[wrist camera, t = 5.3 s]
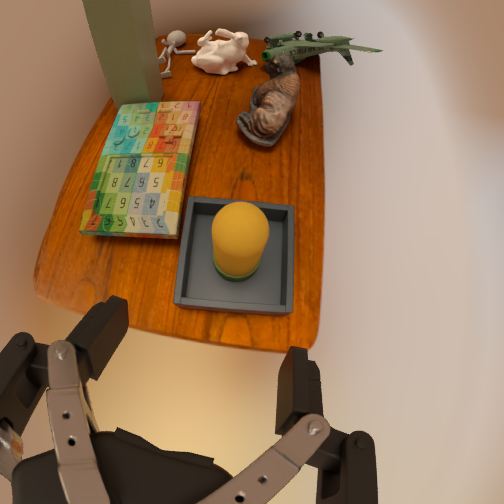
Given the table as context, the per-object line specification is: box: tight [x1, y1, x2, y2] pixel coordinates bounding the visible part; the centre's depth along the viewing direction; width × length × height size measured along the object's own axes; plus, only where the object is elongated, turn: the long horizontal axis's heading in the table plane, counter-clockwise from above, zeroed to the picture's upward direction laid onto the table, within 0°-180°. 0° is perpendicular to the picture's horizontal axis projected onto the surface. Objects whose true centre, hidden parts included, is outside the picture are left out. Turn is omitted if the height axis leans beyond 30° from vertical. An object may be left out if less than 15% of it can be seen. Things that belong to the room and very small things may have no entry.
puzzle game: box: [79, 101, 201, 239], centre depth 31 cm, size 12×5×20 cm
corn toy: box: [212, 202, 269, 282], centre depth 25 cm, size 5×5×11 cm
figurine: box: [158, 31, 195, 79], centre depth 39 cm, size 6×6×15 cm
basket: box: [173, 196, 294, 316], centre depth 29 cm, size 11×11×4 cm
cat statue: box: [237, 51, 300, 147], centre depth 33 cm, size 12×7×10 cm, turn 165°
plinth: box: [82, 0, 164, 112], centre depth 23 cm, size 6×6×30 cm
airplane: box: [262, 31, 382, 65], centre depth 43 cm, size 24×23×10 cm
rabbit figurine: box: [191, 29, 257, 75], centre depth 36 cm, size 12×8×10 cm, turn 88°
